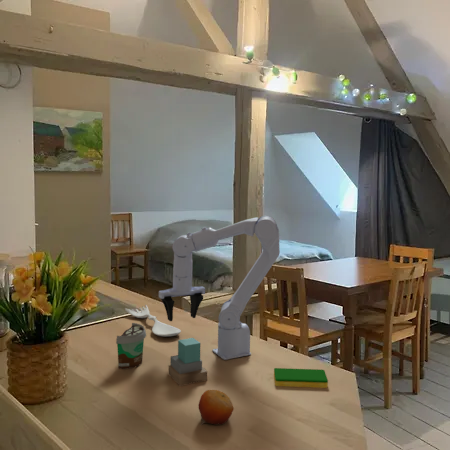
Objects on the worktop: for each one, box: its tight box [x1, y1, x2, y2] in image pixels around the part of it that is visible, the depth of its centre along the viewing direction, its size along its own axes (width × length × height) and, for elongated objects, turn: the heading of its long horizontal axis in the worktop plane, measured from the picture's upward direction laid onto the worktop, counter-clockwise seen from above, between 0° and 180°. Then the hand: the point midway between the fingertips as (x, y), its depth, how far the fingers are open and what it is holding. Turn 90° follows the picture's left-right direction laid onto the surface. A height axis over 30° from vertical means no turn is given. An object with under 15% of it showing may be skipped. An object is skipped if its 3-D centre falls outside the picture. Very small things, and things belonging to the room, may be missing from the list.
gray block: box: [170, 354, 203, 374], centre depth 141 cm, size 6×6×2 cm
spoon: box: [124, 304, 182, 338], centre depth 181 cm, size 9×32×4 cm, turn 33°
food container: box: [115, 322, 147, 370], centre depth 149 cm, size 12×6×10 cm, turn 168°
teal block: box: [177, 337, 201, 364], centre depth 140 cm, size 4×4×5 cm
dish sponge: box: [273, 367, 329, 389], centre depth 139 cm, size 7×14×2 cm, turn 88°
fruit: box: [198, 389, 235, 426], centre depth 118 cm, size 8×8×8 cm
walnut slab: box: [168, 364, 208, 387], centre depth 140 cm, size 8×8×3 cm
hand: (181, 318), depth 157 cm, fingers open, 7 cm apart
